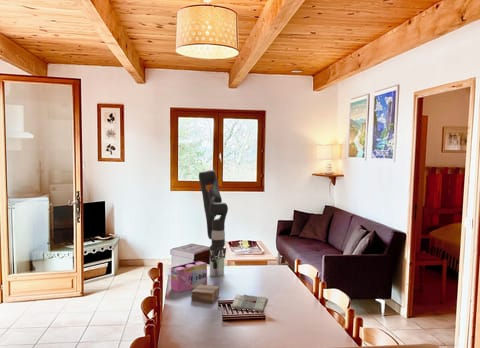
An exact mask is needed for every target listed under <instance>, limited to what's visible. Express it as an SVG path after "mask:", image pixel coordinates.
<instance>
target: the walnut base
mask: <svg viewBox="0 0 480 348" xmlns="http://www.w3.org/2000/svg"><path fill="white" fill-rule="evenodd" d="M219 297H220V286H218V285H208V284H205V285H200V284H199V285H198V286H197V287H195V288H193V290H191V302H193V303H198V304H199V303H201V304H209V305H213V304H214V302H215V301H216V300H217V299H218V298H219Z"/></svg>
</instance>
